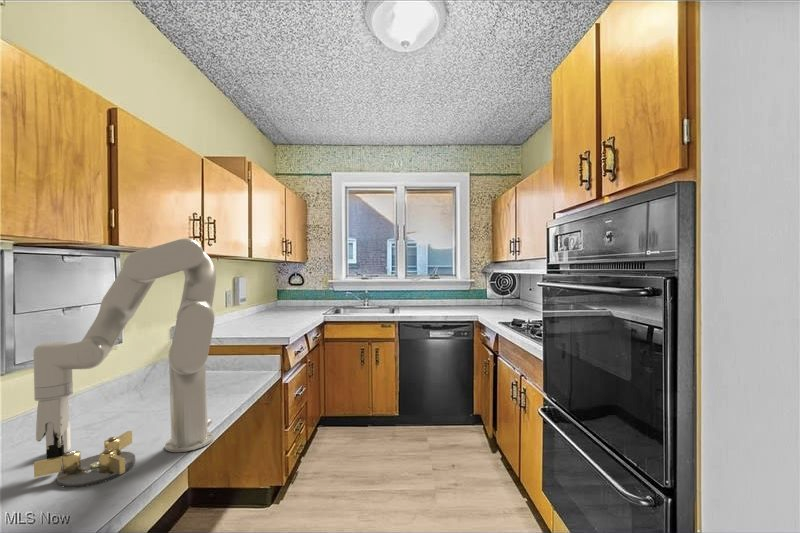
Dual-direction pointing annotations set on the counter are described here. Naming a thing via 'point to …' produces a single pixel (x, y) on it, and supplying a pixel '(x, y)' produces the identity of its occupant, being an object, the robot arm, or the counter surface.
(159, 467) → the counter surface
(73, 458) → the knob
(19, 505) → the counter surface
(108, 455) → the knob
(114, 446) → the knob
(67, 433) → the eye dropper bottle
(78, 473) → the base
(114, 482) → the counter surface
